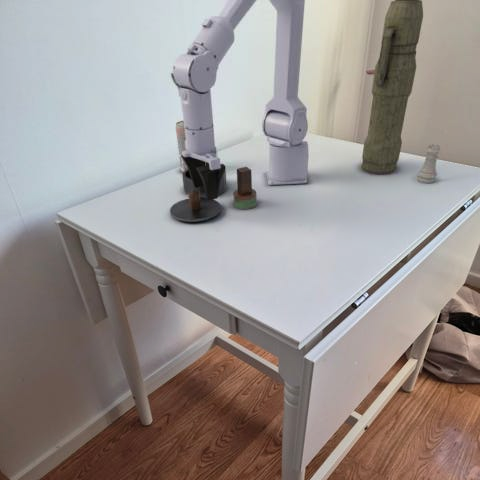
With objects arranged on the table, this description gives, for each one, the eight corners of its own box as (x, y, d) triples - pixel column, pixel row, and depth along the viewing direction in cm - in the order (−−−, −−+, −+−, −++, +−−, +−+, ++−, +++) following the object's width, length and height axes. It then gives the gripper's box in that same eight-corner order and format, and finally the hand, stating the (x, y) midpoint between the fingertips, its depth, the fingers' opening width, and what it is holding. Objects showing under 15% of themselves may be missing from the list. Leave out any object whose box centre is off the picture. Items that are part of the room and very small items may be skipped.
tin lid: (221, 200, 98) (220, 181, 95) (220, 223, 89) (219, 202, 86) (173, 203, 98) (170, 183, 95) (167, 225, 89) (164, 204, 86)
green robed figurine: (405, 164, 110) (439, -4, 88) (384, 179, 103) (416, 0, 81) (373, 158, 115) (399, -4, 92) (351, 171, 108) (373, 0, 86)
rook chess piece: (415, 182, 101) (423, 148, 96) (416, 175, 104) (424, 142, 99) (435, 184, 100) (444, 149, 95) (436, 177, 103) (445, 143, 98)
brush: (230, 202, 97) (228, 168, 92) (250, 197, 98) (249, 163, 93) (240, 211, 93) (238, 175, 88) (260, 206, 95) (260, 170, 90)
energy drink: (202, 166, 115) (198, 119, 108) (199, 174, 111) (194, 125, 104) (183, 166, 116) (177, 120, 108) (179, 174, 112) (173, 126, 104)
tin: (226, 179, 108) (225, 164, 105) (226, 196, 100) (225, 180, 97) (186, 181, 108) (184, 166, 105) (182, 198, 100) (180, 182, 97)
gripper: (167, 120, 87) (177, 185, 95) (192, 139, 76) (200, 209, 85) (199, 115, 89) (206, 178, 98) (228, 132, 79) (232, 201, 87)
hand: (205, 192), depth 91 cm, fingers open, 7 cm apart
